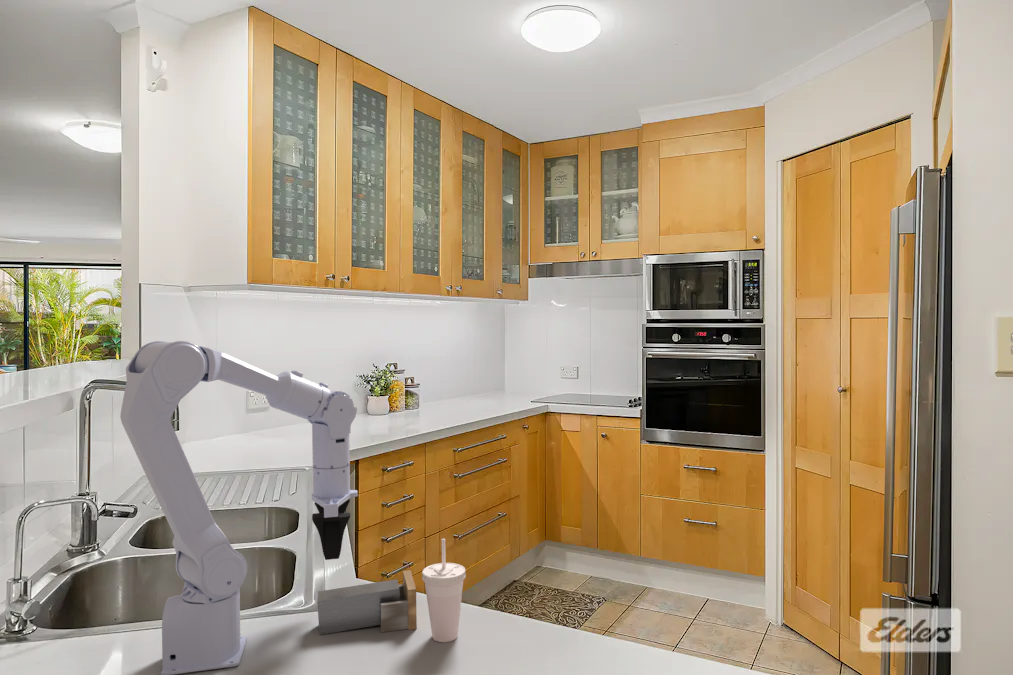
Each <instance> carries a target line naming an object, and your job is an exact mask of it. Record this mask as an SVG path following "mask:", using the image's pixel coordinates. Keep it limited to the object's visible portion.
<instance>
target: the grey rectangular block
mask: <svg viewBox="0 0 1013 675" xmlns="http://www.w3.org/2000/svg"><path fill="white" fill-rule="evenodd" d="M398 581H399V580H398V578H397V579H391V580H384V581H377V582H371V583H364V584H363V583H362V584H357V585H352V586H351V585H350V586H346V587H339V588H331V589H326V590H325V589H324V590H319V591H317V599H316V600H317V601H316V602H317V614H318V618H317V619H318V634H319V636H323V635H328V634H332V633H333V634H334V633H340V632H345V631H351V630H355V629H356V630H358V629H361V628H362V629H363V628H369V627H374V626H379V625H381V603H387V602H396V601H400V591H399V585H400V584H399V582H398Z"/></svg>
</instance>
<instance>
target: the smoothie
mask: <svg viewBox="0 0 1013 675" xmlns="http://www.w3.org/2000/svg"><path fill="white" fill-rule="evenodd" d="M446 548H447V547H446V538H441V562H440V563H439V562H438V563H433V564H431V565H428V566H426V567H424V568H423V569H422V572H421V574H422V575H421V579H422V581H423V582H424V587H425V594H426V599H427V600H426V601H427V608H428V614H429V615H428V616H429V622H430V628H431V635H432V639H433V640H434V641H435V642H438V643H450V642H453V641H455V640H456V639H457V638H458V635H459V627H460V618H461V609H462V608H461V607H462V596H463V588H464V580H465V579H466V576H467V575H466V567H465V566H463V565H461V564H459V563H456V562H455V563H454V562H446V561H447V560H446V559H447V557H446V555H447V554H446V551H447V550H446Z"/></svg>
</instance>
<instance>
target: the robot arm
mask: <svg viewBox="0 0 1013 675" xmlns="http://www.w3.org/2000/svg"><path fill="white" fill-rule="evenodd" d="M125 376H126V382H125V387H124V391H123V392H124V393H123V398H122V404H121V410H120V414H119V416H120V417H119V418H120V420H121V424H122V427H123V428H124V431H125V433H126V435H127V437H128V439H129V442H130V444H131V445H132V447H133V449H134V451H135V454H136V456H137V458H138V461H139V463H140V465H141V467H142V469H143V472H144V473H145V477H146V478H147V480H148V482H149V484H150V486H151V488H152V490H153V493H154V494H155V497H156V500H157V502H158V504H159V506H160V509H161V510H162V513H163V515H164V516H165V519H166V520H167V523H168V525H169V527H170V528H169V529H170V530H171V532H172V534H173V538H172V539H173V540H172V543H171V544H172V546H173V548H174V551H175V570H176V573H177V575H178V577H179V578H180V579H181V580H183V581H184V584H183V588H182V592H181V594H178V595H172V596H169V597H167V599H166V601H165V604H164V607H163V612H162V617H161V618H162V621H161V650H162V652H161V656H162V657H161V658H162V661H161V663H162V670H161V672H160V674H161V675H178V674H179V675H180V674H187V673H195V672H201V671H209V670H216V669H217V670H218V669H223V668H225V669H226V668H231V667H237V666H239V665H240V663H241V660H242V657H243V653H244V650H245V647H246V644H247V641H248V636H246V635H245V636H244V635H243V636H241V602H240V601H241V597H240V596H241V593H240V592H241V591H240V588H241V586H242V585H243V583H244V582H245V580H246V577H247V574H248V563H247V560H246V558H245V556H244V555H243V554H242V553H241V552H239V551H237V550H236V549H235V548H234V547H233V546H232V545H231V543H230V540H229V539H228V537H227V536H226V534H225V533H224V532H223V531H222V529H221V528H220V527H219V526H218V524H217V523H216V521H215V519H214V517H213V515H212V513H211V510H210V508H209V506H208V504H207V502H206V499H205V497H204V495H203V492H202V490H201V487H200V485H199V483H198V481H197V478H196V477H195V474H194V472H193V470H192V468H191V465H190V463H189V460H188V459H187V456H186V454H185V451H184V450H183V447H182V445H181V443H180V440H179V438H178V436H177V434H176V431H175V429H174V427H173V425H172V422H171V417H172V416H173V414H174V412H175V410H176V409H177V406H178V405H179V404H180V402H181V400H182V399H184V397H186V396H187V394H189V393H190V392H191V391H192V390H193V389H195V388H196V386H197V385H199V383H200V382H205V383H209V382H214V381H222V382H224V383H227V384H230V385H233V386H237V387H240V388H243V389H244V390H245V389H246V390H248V391H251V392H255V393H258V394H261V395H263V396H265V398H266V400H267V403H268V405H269V406H270V407H271V408H273V409H275V410H279V411H282V412H285V413H288V414H289V415H290V414H291V415H293V416H296V417H299V418H302V419H303V420H304V419H305V420H307V421H308V422H309V423H310V424H311V431H312V432H311V434H312V438H311V439H312V442H311V443H312V494H311V501H312V502H314V506H315V507H316V509H317V511H318V513H312V514H311V515H312V516H311V520H312V523H313V524H314V526H315V528H316V530H317V532H318V535H319V538H320V539H319V540H320V543H321V550H322V554H323V558H324V560H326V561H329V560H339V559H340V555H341V551H342V545H343V538H344V533H345V529H346V527H347V525H348V522H349V520H350V518H351V512H346V510H347V508H348V505H349V503H350V499H351V498H355V497H358V496H359V494H358V490H357V489H351V482H350V481H351V471H350V470H351V468H350V467H351V466H350V462H351V457H350V456H351V454H350V447H351V446H350V434H351V426H352V423H353V422H354V420H355V418H356V416H357V411H358V408H357V407H355V406H354V405H355V404H354V401H353V398H351V395H349V394H348V393H346V392H344V391H342V390H341V391H338V390H337V391H336V390H330V389H329V388H328V387H329V384H327V383H326V382H319V383H317V382H314V381H312V380H309V379H307V378H304V377H303V376H304V373H303V372H301V371H298V370H291V372H289V371H282V372H280V373H278V374H276V375H275V374H272V373H269V372H267V371H265V370H263V369H261V368H259V367H257V366H254V365H252V364H249V363H247V362H245V361H243V360H241V359H238V358H237V357H234V356H232V355H229V354H227V353H225V352H223V351H219V350H217V349H213V348H212V347H211V348H210V347H206V346H199V345H196V344H194V343H193V342H190V341H185V340H175V341H170V342H167V341H159V340H156V341H150V342H148V343H145V344H144V345H142V346H141V347H140V348H139V349H138V350H137V351H136V353H135V354H134V355H133V357H132V358H131V360H130V361H129V363H128V364H127V366H126V367H125Z"/></svg>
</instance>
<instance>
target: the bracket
mask: <svg viewBox="0 0 1013 675" xmlns="http://www.w3.org/2000/svg"><path fill="white" fill-rule="evenodd" d="M402 580H403V581H402V583H401V584H398V585H399V591H400V601H396V602H387V603H381V625H380V631H381V633H388V632H393V631H394V632H395V631H402V630H408V631H412V630H417V629H418V628H417V621H418V620H417V587H416V583H415V581H414V577H413V574H412V570H410V569H409V570H408V569H407V570H402Z"/></svg>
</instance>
